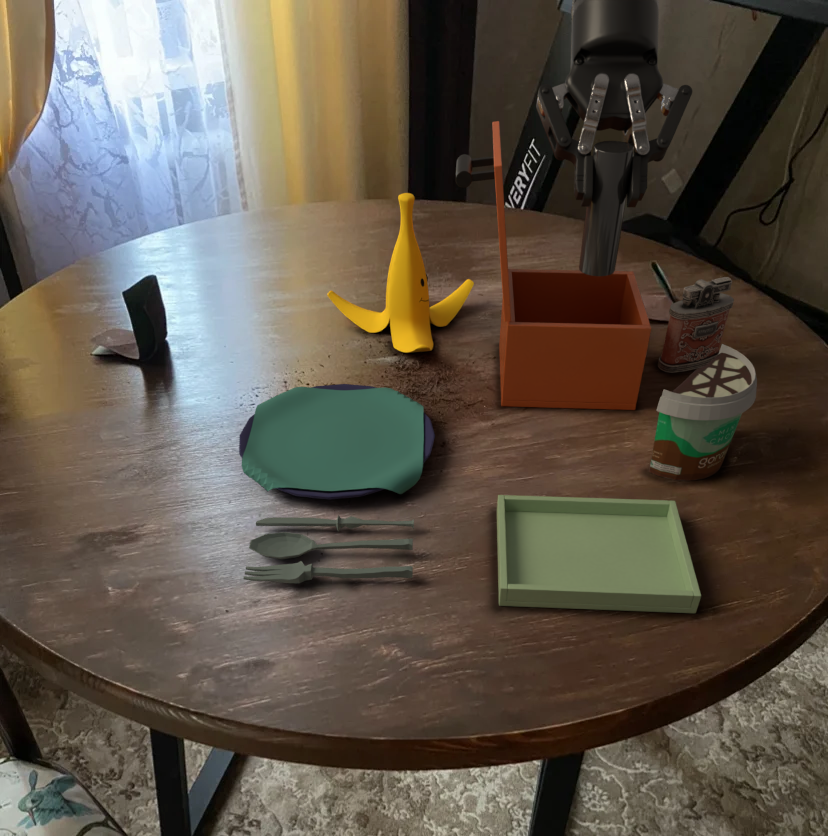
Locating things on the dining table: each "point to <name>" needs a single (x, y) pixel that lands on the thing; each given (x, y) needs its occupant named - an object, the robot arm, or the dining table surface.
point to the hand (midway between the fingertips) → (610, 202)
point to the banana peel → (406, 294)
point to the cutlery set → (333, 466)
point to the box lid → (467, 177)
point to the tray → (594, 554)
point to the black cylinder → (606, 208)
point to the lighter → (696, 326)
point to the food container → (702, 417)
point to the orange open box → (573, 340)
